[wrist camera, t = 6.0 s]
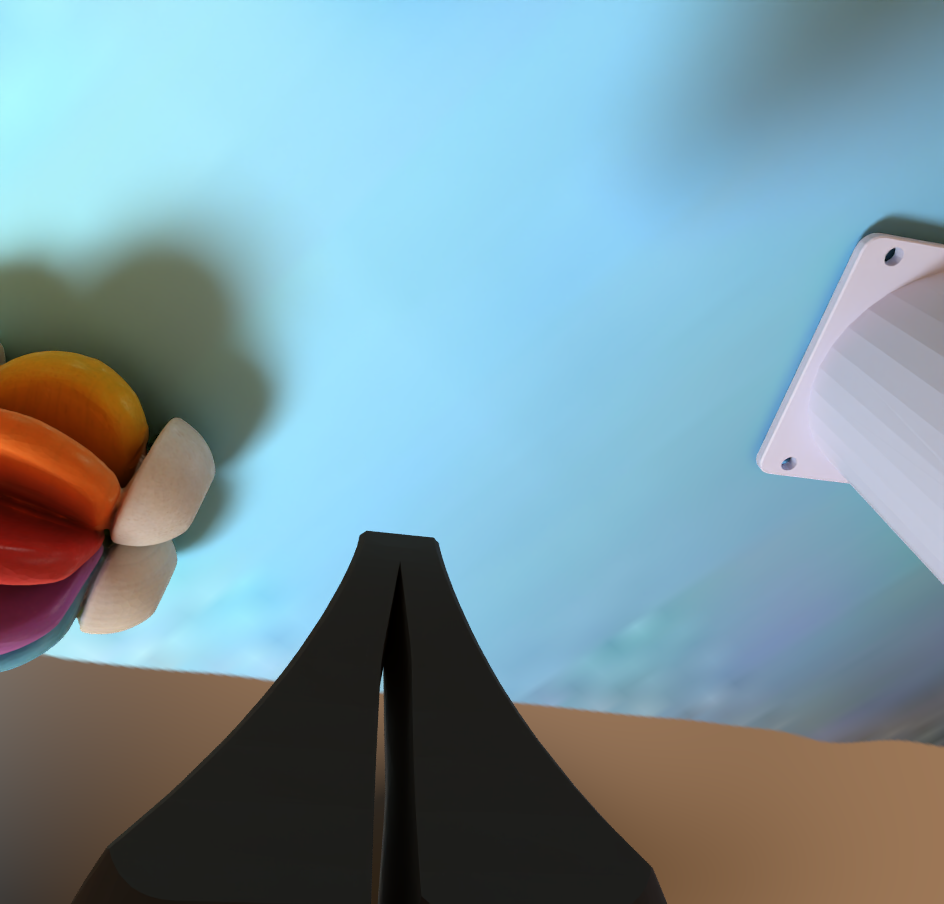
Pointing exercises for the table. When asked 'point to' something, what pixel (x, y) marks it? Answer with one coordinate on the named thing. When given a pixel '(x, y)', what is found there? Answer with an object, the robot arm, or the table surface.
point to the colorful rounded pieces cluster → (86, 501)
